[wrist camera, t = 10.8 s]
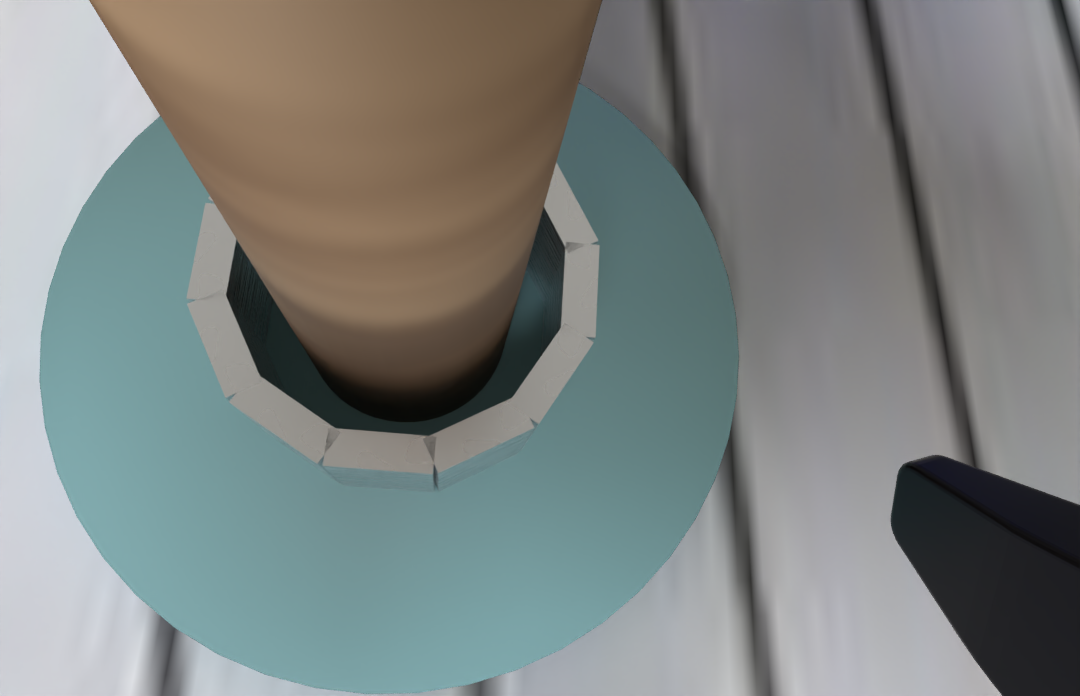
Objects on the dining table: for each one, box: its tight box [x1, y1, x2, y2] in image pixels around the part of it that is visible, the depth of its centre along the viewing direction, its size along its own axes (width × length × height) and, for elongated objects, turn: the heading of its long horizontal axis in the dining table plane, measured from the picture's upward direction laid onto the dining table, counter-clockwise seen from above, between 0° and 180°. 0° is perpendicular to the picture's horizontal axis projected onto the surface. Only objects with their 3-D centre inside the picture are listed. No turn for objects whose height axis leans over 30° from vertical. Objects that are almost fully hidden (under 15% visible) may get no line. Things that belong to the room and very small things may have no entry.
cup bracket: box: [40, 83, 739, 694], centre depth 15 cm, size 14×14×4 cm
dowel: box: [89, 0, 602, 422], centre depth 10 cm, size 4×4×13 cm
